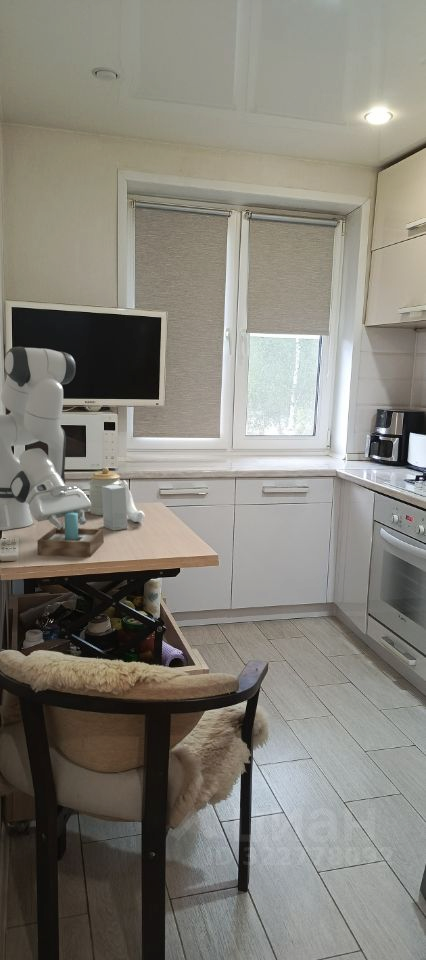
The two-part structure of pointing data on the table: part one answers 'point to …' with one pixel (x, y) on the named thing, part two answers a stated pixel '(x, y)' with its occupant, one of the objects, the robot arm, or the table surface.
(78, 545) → the peg box
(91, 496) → the jar
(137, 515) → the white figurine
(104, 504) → the skincare box
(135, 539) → the table surface
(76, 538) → the teal rectangular block
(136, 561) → the table surface
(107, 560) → the table surface
